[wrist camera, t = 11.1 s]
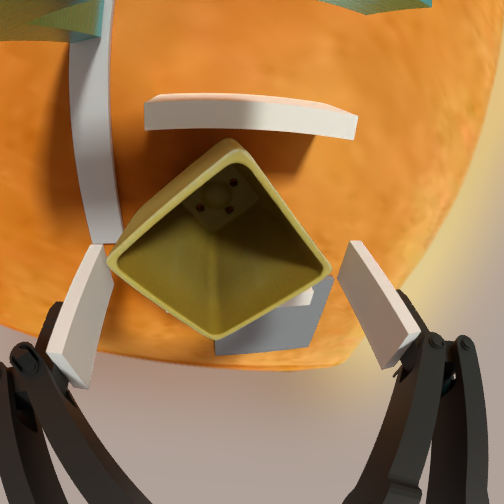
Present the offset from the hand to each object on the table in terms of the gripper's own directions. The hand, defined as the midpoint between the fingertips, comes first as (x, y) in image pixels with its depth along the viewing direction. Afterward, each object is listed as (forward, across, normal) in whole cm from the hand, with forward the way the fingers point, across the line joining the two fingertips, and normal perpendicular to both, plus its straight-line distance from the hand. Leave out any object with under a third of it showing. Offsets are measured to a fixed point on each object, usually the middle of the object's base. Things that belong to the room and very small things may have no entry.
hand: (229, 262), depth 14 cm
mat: (+8, +6, -15) cm, 18 cm away
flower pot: (+8, 0, 0) cm, 8 cm away
